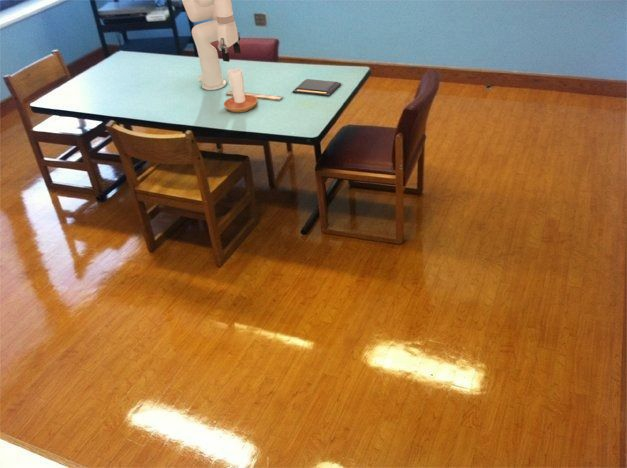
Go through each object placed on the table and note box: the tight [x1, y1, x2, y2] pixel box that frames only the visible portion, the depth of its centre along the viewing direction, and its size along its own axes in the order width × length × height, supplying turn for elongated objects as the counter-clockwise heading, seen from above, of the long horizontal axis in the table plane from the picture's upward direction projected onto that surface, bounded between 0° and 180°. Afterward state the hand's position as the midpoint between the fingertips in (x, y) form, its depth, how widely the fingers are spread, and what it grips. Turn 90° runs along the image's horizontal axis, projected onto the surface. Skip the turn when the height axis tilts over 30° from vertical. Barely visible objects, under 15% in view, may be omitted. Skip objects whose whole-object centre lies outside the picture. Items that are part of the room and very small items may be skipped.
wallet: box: [292, 78, 342, 97], centre depth 293 cm, size 20×2×15 cm
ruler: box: [226, 90, 283, 102], centre depth 293 cm, size 30×3×1 cm, turn 65°
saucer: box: [223, 95, 259, 114], centre depth 284 cm, size 16×16×3 cm
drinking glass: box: [227, 67, 246, 103], centre depth 278 cm, size 7×7×15 cm
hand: (232, 57), depth 272 cm, fingers open, 9 cm apart
